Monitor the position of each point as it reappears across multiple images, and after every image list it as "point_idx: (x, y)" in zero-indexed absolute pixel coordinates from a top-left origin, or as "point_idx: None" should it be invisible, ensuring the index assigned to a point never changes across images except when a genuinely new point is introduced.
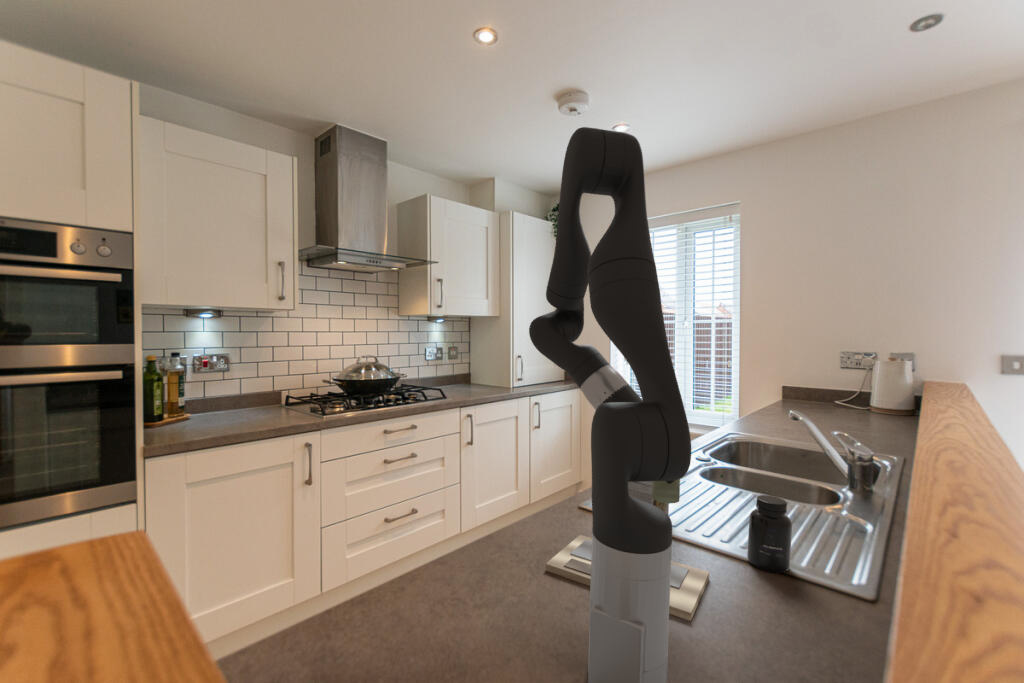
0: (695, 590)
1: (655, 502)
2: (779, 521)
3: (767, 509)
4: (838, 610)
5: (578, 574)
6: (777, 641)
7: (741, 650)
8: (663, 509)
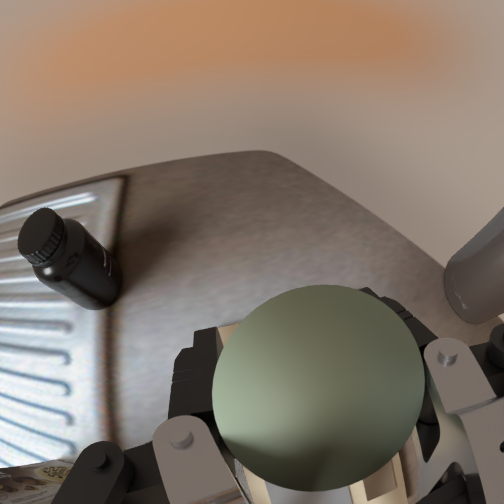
0: None
1: None
2: (74, 225)
3: (61, 235)
4: (169, 190)
5: (399, 460)
6: (295, 212)
7: (347, 231)
8: (61, 468)
